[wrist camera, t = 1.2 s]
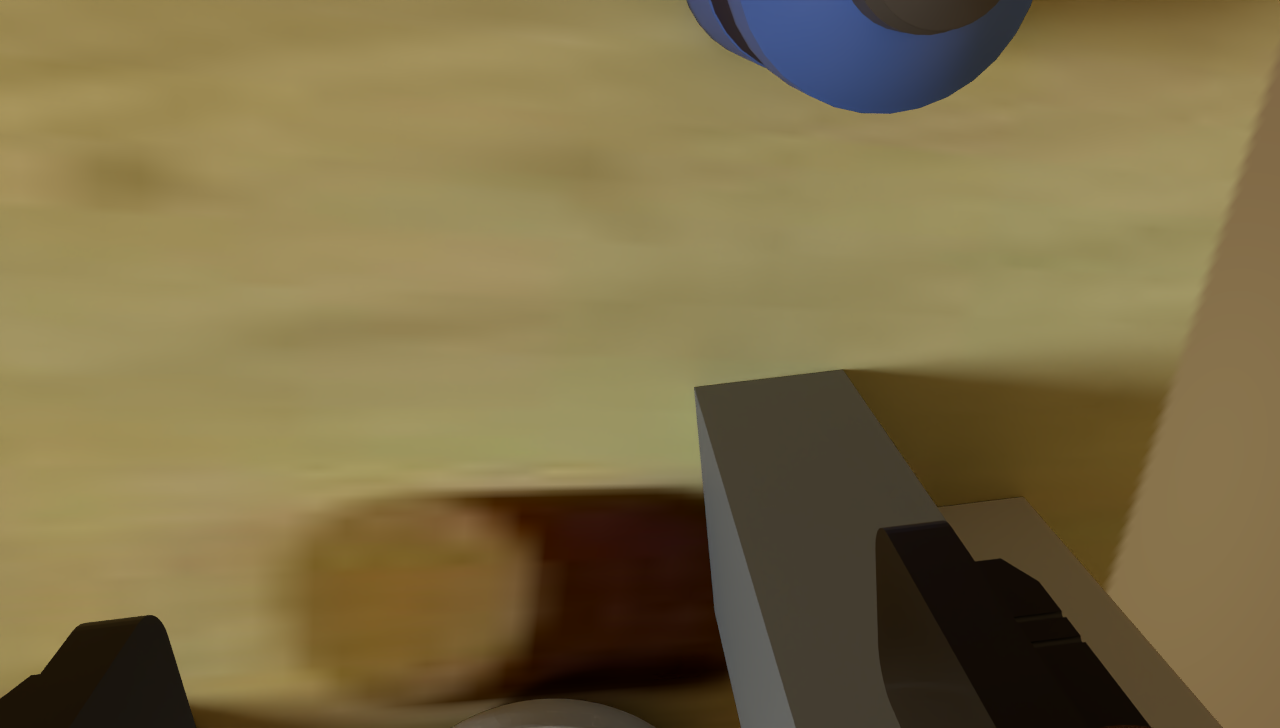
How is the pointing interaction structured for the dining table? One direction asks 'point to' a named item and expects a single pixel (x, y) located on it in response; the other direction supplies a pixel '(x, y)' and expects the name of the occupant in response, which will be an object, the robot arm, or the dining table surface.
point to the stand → (860, 558)
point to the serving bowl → (554, 716)
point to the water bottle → (866, 45)
